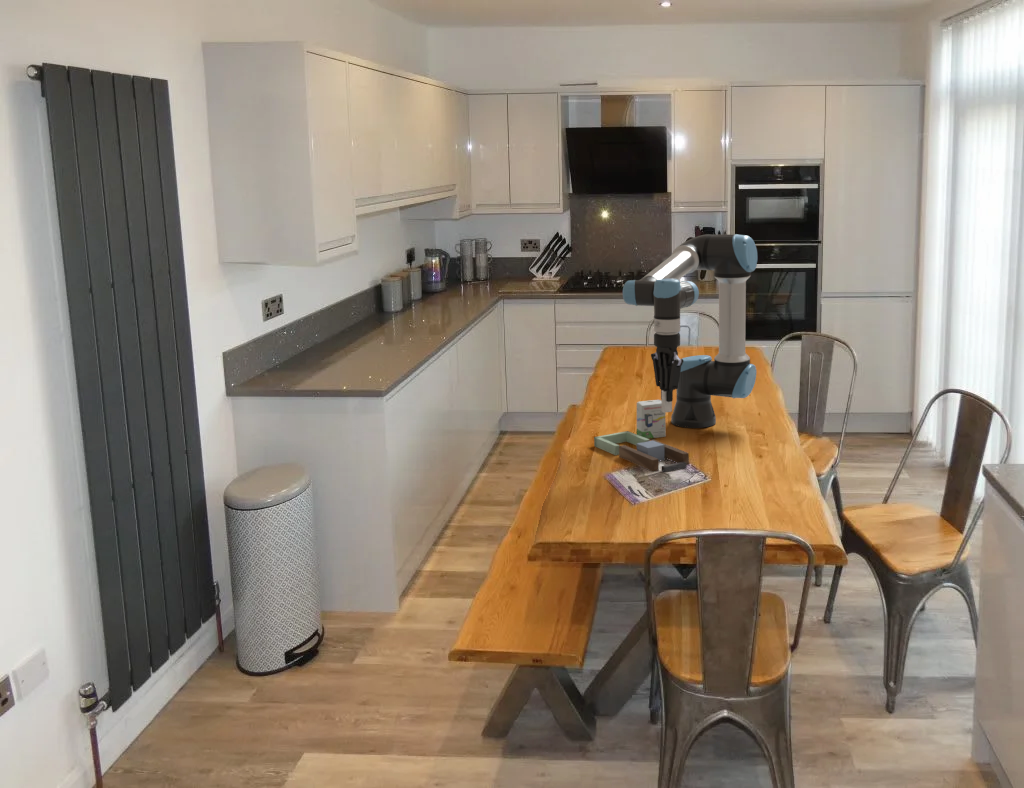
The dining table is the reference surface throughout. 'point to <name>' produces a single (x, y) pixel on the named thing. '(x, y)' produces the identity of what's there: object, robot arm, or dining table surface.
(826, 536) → the dining table surface
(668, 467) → the bar
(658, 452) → the block
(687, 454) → the channel
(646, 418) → the ink box
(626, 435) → the frame
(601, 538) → the dining table surface
